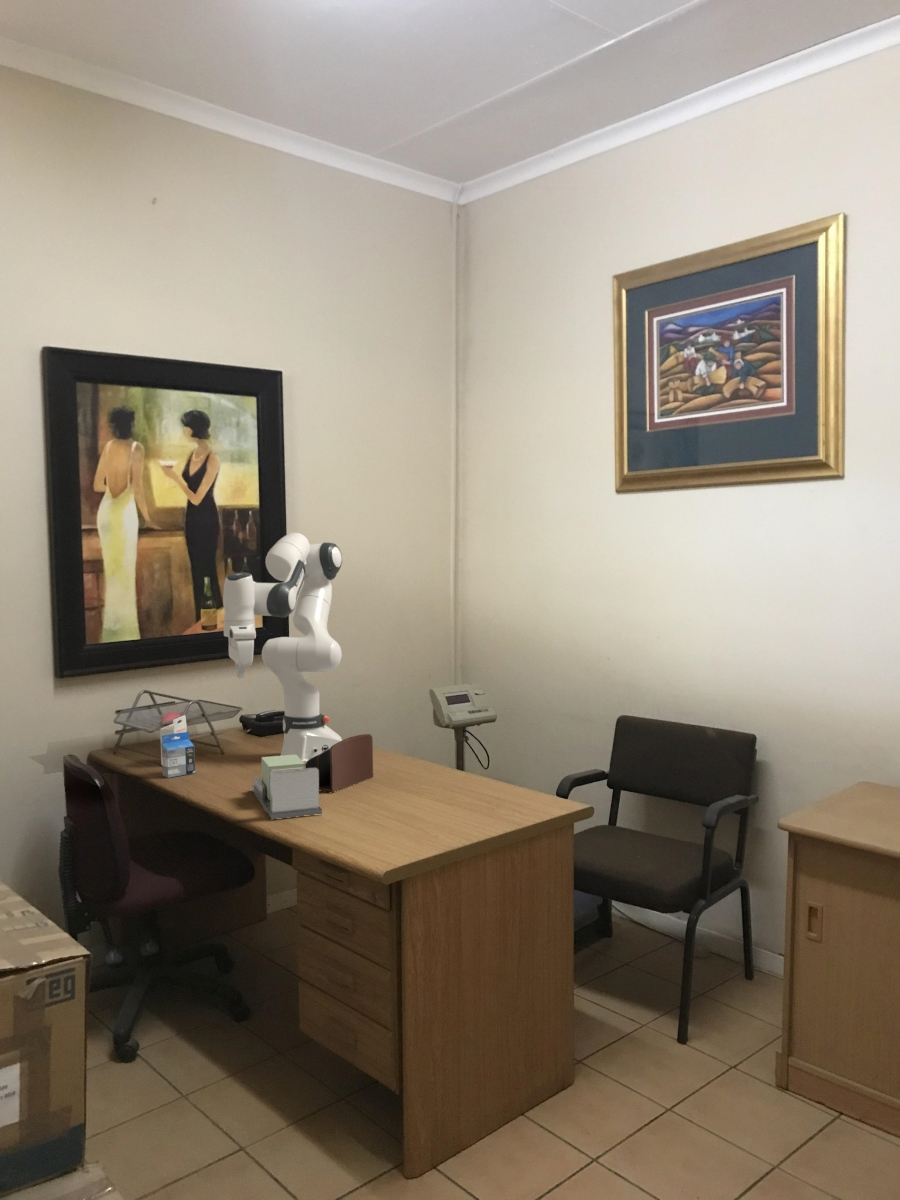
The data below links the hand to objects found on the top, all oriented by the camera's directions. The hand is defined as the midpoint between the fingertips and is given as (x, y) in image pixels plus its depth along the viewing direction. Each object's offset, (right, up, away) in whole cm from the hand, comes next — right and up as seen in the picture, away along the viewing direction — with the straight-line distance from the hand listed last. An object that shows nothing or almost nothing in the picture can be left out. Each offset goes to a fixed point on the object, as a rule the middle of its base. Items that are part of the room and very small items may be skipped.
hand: (240, 677), depth 271 cm
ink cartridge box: (-26, -29, +25) cm, 47 cm away
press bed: (+16, -32, -17) cm, 40 cm away
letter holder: (+28, -31, +3) cm, 42 cm away
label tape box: (-21, -30, +11) cm, 39 cm away
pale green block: (+15, -30, -14) cm, 37 cm away
